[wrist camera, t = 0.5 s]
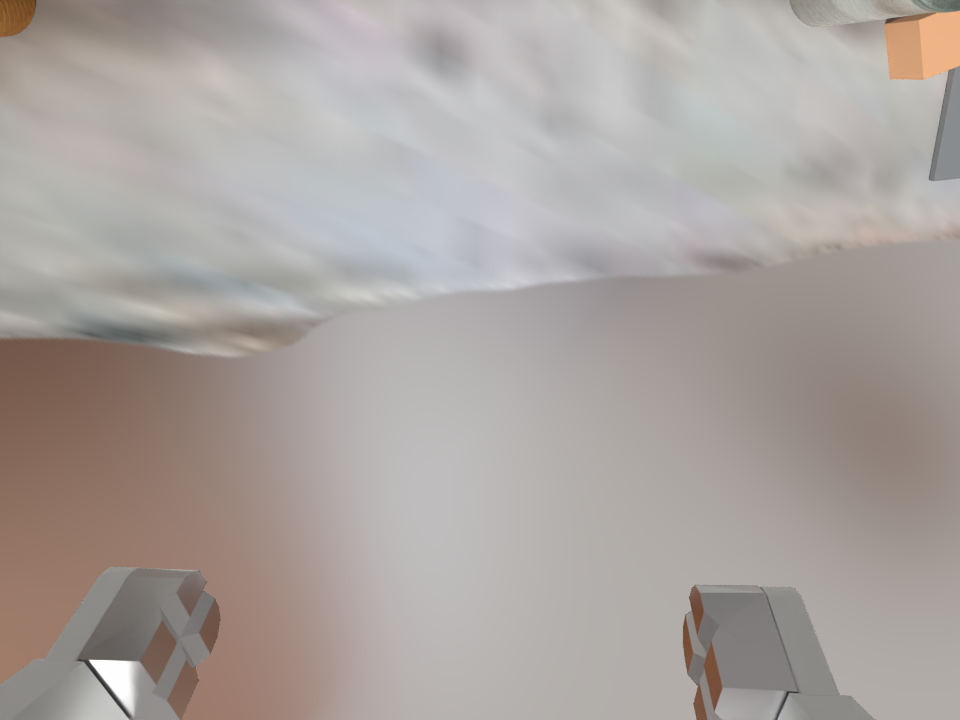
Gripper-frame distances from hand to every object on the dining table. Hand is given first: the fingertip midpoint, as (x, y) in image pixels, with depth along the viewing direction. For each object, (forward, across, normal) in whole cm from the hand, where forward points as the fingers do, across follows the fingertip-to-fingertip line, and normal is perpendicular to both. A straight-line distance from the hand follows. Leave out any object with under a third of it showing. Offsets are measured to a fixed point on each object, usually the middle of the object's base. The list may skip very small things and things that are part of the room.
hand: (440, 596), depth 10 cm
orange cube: (+49, -30, 0) cm, 57 cm away
